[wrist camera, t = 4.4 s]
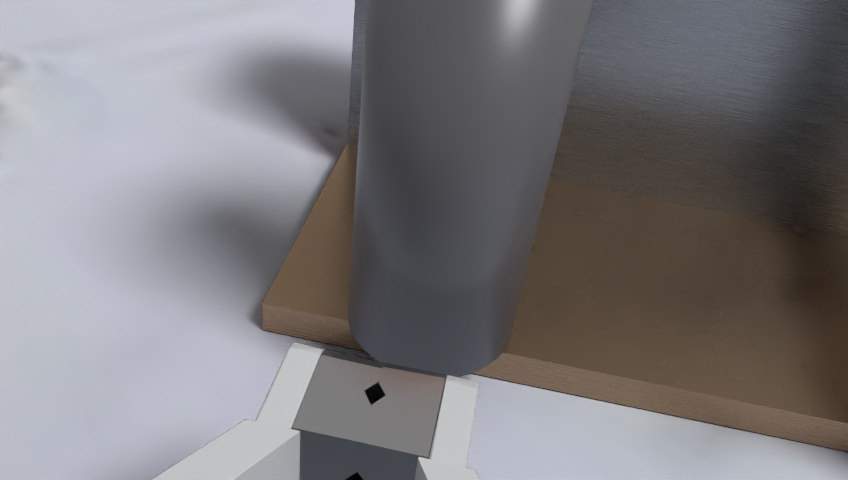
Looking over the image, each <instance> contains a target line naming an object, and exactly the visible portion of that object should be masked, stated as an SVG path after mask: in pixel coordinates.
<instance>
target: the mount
mask: <svg viewBox="0 0 848 480" xmlns="http://www.w3.org/2000/svg"><path fill="white" fill-rule="evenodd" d="M366 13H367V0H355V12H354V30H353V49H352V68H351V87H350V106H349V124H348V143H347V144H346V146H345V148H344V150H343V152H342V154H341V156H340V158H339V159H338V161H337V163H336V165H335V167H334V169H333V171H332V173H331V174H330V176H329V178H328V180H327V182H326V184H325V186H324V188H323V190H322V191H321V193H320V195H319V197H318V199H317V201H316V203H315V205H314V206H313V208H312V210H311V212H310V214H309V216H308V218H307V220H306V221H305V223H304V225H303V227H302V229H301V231H300V233H299V235H298V236H297V238H296V240H295V242H294V244H293V246H292V248H291V250H290V251H289V253H288V255H287V257H286V259H285V261H284V263H283V265H282V267H281V268H280V270H279V272H278V274H277V276H276V278H275V280H274V282H273V283H272V285H271V287H270V289H269V291H268V293H267V295H266V297H265V298H264V300H263V302H262V320H263V330H266V331H271V332H276V333H281V334H285V335H290V336H295V337H300V338H305V339H310V340H314V341H319V342H324V343H329V344H334V345H338V346H343V347H348V348H353V349H358V350H362V351H365V350H364V349H363V348H362V347H361V346H360V345H359V343H358V342H357V340H356V339H355V338H354V336H353V334H352V332H351V330H350V326H349V323H348V315H347V314H348V298H349V282H350V266H351V250H352V234H353V219H354V203H355V187H356V171H357V155H358V140H359V124H360V108H361V92H362V76H363V60H364V45H365V29H366ZM473 374H478V375H482V376H487V377H492V378H497V379H502V380H506V381H511V382H516V383H521V384H526V385H531V386H535V387H540V388H545V389H550V390H555V391H559V392H564V393H569V394H574V395H579V396H583V397H588V398H593V399H598V400H603V401H607V402H612V403H617V404H622V405H627V406H631V407H636V408H641V409H646V410H651V411H655V412H660V413H665V414H670V415H675V416H679V417H684V418H689V419H694V420H699V421H703V422H708V423H713V424H718V425H723V426H727V427H732V428H737V429H742V430H747V431H751V432H756V433H761V434H766V435H771V436H776V437H780V438H785V439H790V440H795V441H800V442H804V443H809V444H814V445H819V446H824V447H828V448H833V449H838V450H843V451H848V0H593V4H592V8H591V12H590V16H589V20H588V24H587V28H586V32H585V36H584V40H583V44H582V48H581V52H580V56H579V60H578V65H577V69H576V73H575V77H574V81H573V85H572V89H571V93H570V97H569V101H568V105H567V109H566V113H565V117H564V121H563V125H562V129H561V133H560V137H559V141H558V145H557V150H556V154H555V158H554V162H553V166H552V170H551V174H550V178H549V182H548V186H547V190H546V194H545V198H544V202H543V206H542V210H541V214H540V218H539V222H538V226H537V230H536V235H535V239H534V243H533V247H532V251H531V255H530V259H529V263H528V267H527V271H526V275H525V279H524V283H523V287H522V291H521V295H520V299H519V303H518V307H517V311H516V315H515V320H514V324H513V328H512V332H511V336H510V340H509V342H508V344H507V347H506V348H505V350H504V351H503V353H502V354H501V355H500V356H499V357H498V358H497V359H496V360H495V361H493V362H492V363H491V364H489V365H488V366H486V367H484V368H482V369H481V370H478V371H475V372H473Z"/></svg>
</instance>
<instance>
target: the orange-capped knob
mask: <svg viewBox="0 0 848 480" xmlns="http://www.w3.org/2000/svg"><path fill="white" fill-rule="evenodd" d="M592 4H593V0H367V13H366V29H365V45H364V60H363V76H362V92H361V108H360V124H359V140H358V155H357V171H356V187H355V203H354V219H353V234H352V250H351V266H350V282H349V298H348V314H347V315H348V323H349V326H350V330H351V332H352V334H353V336H354V338H355V339H356V340H357V342H358V343H359V345H360V346H361V347H362V348H363V349H364V350H365V351H366V352H367V353H368V354H370V355H371V356H372V357H373V358H375V359H376V360H378V361H379V362H382V363H391V364H396V365H401V366H406V367H411V368H416V369H421V370H426V371H431V372H436V373H441V374H446V378H447V375H450V376H455V377H457V376H462V375H466V374H470V373H473V372H475V371H478V370H481V369H482V368H484V367H486V366H488V365H489V364H491V363H492V362H493V361H495V360H496V359H497V358H498V357H499V356H500V355H501V354H502V353H503V351H504V350H505V348H506V347H507V344H508V342H509V340H510V336H511V332H512V328H513V324H514V320H515V315H516V311H517V307H518V303H519V299H520V295H521V291H522V287H523V283H524V279H525V275H526V271H527V267H528V263H529V259H530V255H531V251H532V247H533V243H534V239H535V235H536V230H537V226H538V222H539V218H540V214H541V210H542V206H543V202H544V198H545V194H546V190H547V186H548V182H549V178H550V174H551V170H552V166H553V162H554V158H555V154H556V150H557V145H558V141H559V137H560V133H561V129H562V125H563V121H564V117H565V113H566V109H567V105H568V101H569V97H570V93H571V89H572V85H573V81H574V77H575V73H576V69H577V65H578V60H579V56H580V52H581V48H582V44H583V40H584V36H585V32H586V28H587V24H588V20H589V16H590V12H591V8H592Z"/></svg>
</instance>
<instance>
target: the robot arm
mask: <svg viewBox="0 0 848 480" xmlns="http://www.w3.org/2000/svg"><path fill="white" fill-rule="evenodd" d="M445 380H446V382H445ZM444 386H445V387H444ZM478 390H479V383H478V381H474V380H469V379H464V378H459V377H455V376H450V375H447V378H446V374H441V373H436V372H431V371H426V370H421V369H416V368H411V367H406V366H401V365H396V364H391V363H382V362H378V361H374V360H370V359H365V358H361V357H357V356H353V355H349V354H344V353H340V352H336V351H332V350H328V349H321V348H317V347H313V346H308V345H304V344H300V343H296V342H294V343H293V344H292V345H291V346H290V347H289V349H288V350H287V352H286V354H285V357H284V359H283V361H282V363H281V365H280V367H279V370H278V372H277V374H276V376H275V378H274V381H273V383H272V385H271V387H270V389H269V391H268V394H267V396H266V398H265V400H264V402H263V404H262V407H261V409H260V411H259V413H258V415H257V417H256V420H255V421H254V420H248V419H245V420H244V421H242V422H240V423H239V424H237V425H236V426H234V427H233V428H231V429H230V430H228V431H226V432H225V433H223V434H222V435H220V436H219V437H217V438H216V439H214V440H213V441H211V442H209V443H208V444H206V445H205V446H203V447H202V448H200V449H199V450H197V451H195V452H194V453H192V454H191V455H189V456H188V457H186V458H185V459H183V460H181V461H180V462H178V463H177V464H175V465H174V466H172V467H171V468H169V469H167V470H166V471H164V472H163V473H161V474H160V475H158V476H157V477H155V478H154V479H152V480H480V478H479V476H478V474H477V472H476V470H475V469H471V468H467V467H466V465H467V458H468V452H469V446H470V440H471V434H472V427H473V421H474V415H475V409H476V402H477V396H478ZM443 391H444V392H443Z"/></svg>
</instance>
